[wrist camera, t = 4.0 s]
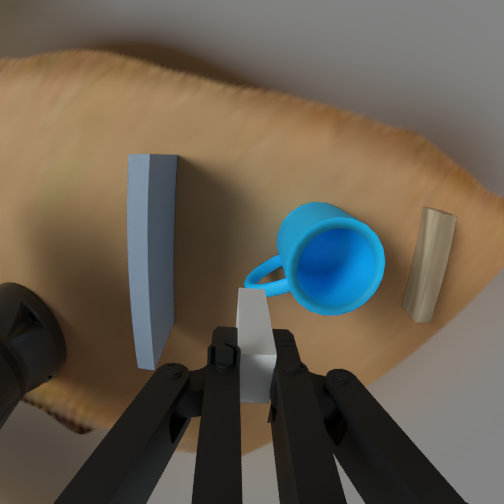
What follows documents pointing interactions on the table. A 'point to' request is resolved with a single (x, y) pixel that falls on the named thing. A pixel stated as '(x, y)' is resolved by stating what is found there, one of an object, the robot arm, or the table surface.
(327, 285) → the mug
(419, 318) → the block
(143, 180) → the screen
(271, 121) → the table surface
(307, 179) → the table surface
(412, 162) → the table surface
